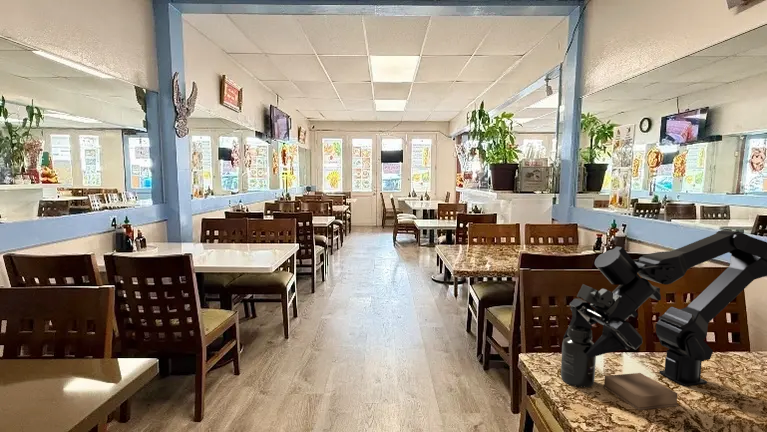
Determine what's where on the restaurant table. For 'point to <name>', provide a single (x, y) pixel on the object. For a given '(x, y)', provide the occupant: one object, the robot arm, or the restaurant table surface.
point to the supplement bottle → (578, 357)
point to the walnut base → (640, 391)
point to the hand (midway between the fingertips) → (575, 347)
